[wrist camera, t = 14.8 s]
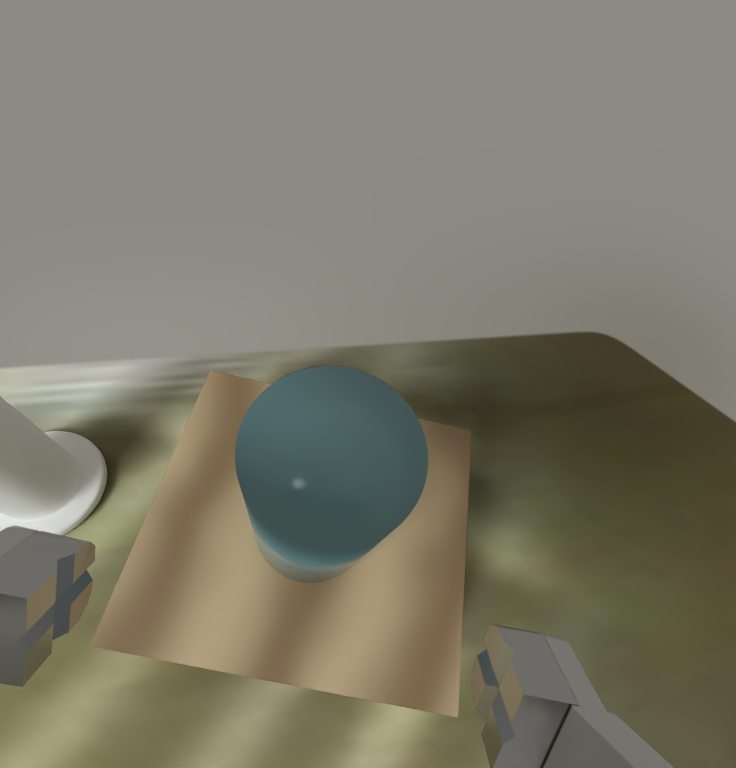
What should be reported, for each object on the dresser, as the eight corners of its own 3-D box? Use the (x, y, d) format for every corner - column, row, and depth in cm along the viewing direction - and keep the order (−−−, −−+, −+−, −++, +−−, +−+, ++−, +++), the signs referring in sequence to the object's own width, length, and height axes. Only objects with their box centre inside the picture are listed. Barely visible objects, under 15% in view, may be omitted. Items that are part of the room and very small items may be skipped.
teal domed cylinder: (237, 568, 20) (204, 525, 12) (273, 451, 23) (267, 348, 15) (360, 594, 21) (417, 570, 12) (380, 475, 24) (436, 388, 15)
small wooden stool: (139, 642, 24) (89, 646, 18) (224, 420, 31) (209, 370, 25) (416, 696, 25) (458, 717, 19) (437, 468, 32) (471, 430, 26)
